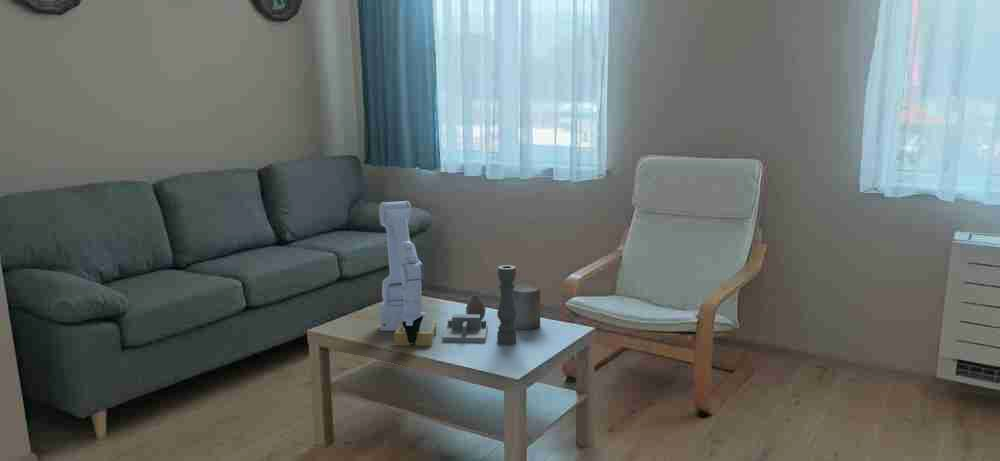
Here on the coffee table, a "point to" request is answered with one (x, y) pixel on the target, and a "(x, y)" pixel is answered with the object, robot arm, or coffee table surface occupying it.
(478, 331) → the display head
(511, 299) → the candle holder
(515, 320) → the pillar candle
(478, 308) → the vase
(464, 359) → the coffee table surface
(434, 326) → the tan bracket frame
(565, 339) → the coffee table surface
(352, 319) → the coffee table surface
